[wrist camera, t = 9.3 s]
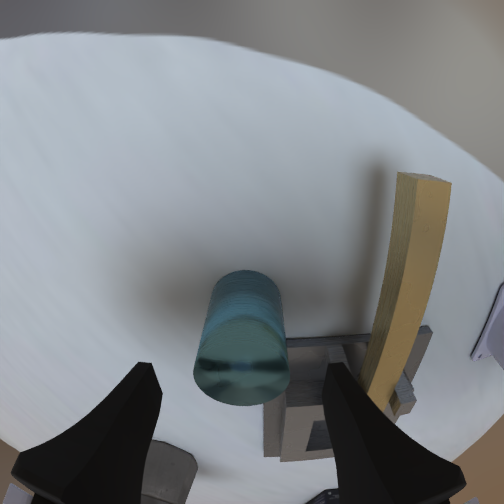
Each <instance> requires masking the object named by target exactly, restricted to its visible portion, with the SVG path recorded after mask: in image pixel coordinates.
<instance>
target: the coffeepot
mask: <svg viewBox="0 0 504 504" xmlns="http://www.w3.org/2000/svg"><path fill="white" fill-rule="evenodd" d="M197 470H198V466H197V463H196V460H195V459H194V457H193V456H191V455H190V454H189V453H187V452H186V451H184V450H182V449H180V448H177V447H175V446H173V445H170V444H167V443H163V442H160V441H156V440H151V443H150V446H149V450H148V453H147V457H146V462H145V468H144V474H143V482H142V492H141V504H185V502H186V499H187V497H188V494H189V491H190V489H191V486H192V483H193V480H194V478H195V475H196V472H197Z"/></svg>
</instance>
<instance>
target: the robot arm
mask: <svg viewBox="0 0 504 504" xmlns="http://www.w3.org/2000/svg"><path fill="white" fill-rule="evenodd" d="M491 355H493V356H494V358H495V359H496V360H497V362H498V363H499V365H500V366H501V367H502V369H503V370H504V285H502V287H501V288H500V291H499V294H498V296H497V299H496V302H495V304H494V307H493V310H492V312H491V315H490V317H489V319H488V322H487V324H486V326H485V329H484V331H483V333H482V335H481V338H480V340H479V342H478V344H477V346H476V348H475V350H474V352H473V354H472V356H471V359H472V361H476V360H479V359H482V358H485V357H488V356H491ZM162 395H163V393H162V390H161V388H160V385H159V382H158V380H157V377H156V374H155V371H154V369H153V366H152V363H145V362H138V363H137V364H136V365H135V366H134V367H133V368H132V369H131V371H130V372H129V373H128V374H127V375H126V376H125V377H124V378H123V379H122V381H121V382H120V383H119V384H118V385H117V386H116V387H115V388H114V389H113V390H112V391H111V392H110V393H109V395H108V396H107V397H106V398H105V399H104V400H103V401H102V402H100V403H99V404H98V405H97V406H96V407H95V408H94V409H93V410H92V411H91V412H90V413H89V414H87V415H86V416H85V417H84V418H83V419H81V420H80V421H79V422H77V423H76V424H75V425H73V426H72V427H70V428H69V429H67V430H66V431H64V432H63V433H61V434H60V435H58V436H56V437H54V438H53V439H51V440H49V441H47V442H45V443H43V444H41V445H38V446H36V447H34V448H31V449H28V450H26V451H23V452H20V454H19V456H18V458H17V460H16V462H15V464H14V466H13V469H12V471H11V474H12V476H13V477H14V478H15V479H17V480H18V481H19V482H20V483H22V484H23V485H25V486H26V487H27V488H29V489H30V490H32V491H33V492H34V493H35V494H34V497H33V496H31V495H29V494H28V493H26V492H25V491H23V490H21V489H20V488H18V487H17V486H15V485H14V484H10V486H9V488H8V491H7V493H6V496H5V498H4V501H3V504H141V492H142V482H143V474H144V468H145V462H146V457H147V453H148V450H149V446H150V443H151V440H152V437H153V433H154V430H155V427H156V423H157V420H158V417H159V413H160V407H161V401H162ZM322 402H323V410H324V416H325V421H326V425H327V429H328V433H329V437H330V441H331V445H332V449H333V453H334V457H335V462H336V469H337V478H338V489H339V503H340V504H450V501H449V498H450V497H452V496H453V495H455V494H456V493H458V492H459V491H460V490H462V489H463V488H464V487H465V486H466V481H465V478H464V475H463V472H462V471H461V468H460V467H459V466H458V465H455V464H453V463H451V462H449V461H447V460H445V459H443V458H441V457H439V456H437V455H436V454H434V453H432V452H430V451H429V450H427V449H426V448H424V447H423V446H422V445H420V444H419V443H417V442H416V441H414V440H413V439H412V438H410V437H409V436H408V435H407V434H405V433H404V432H403V431H402V430H401V429H400V428H398V427H397V426H396V425H395V424H394V423H393V422H392V421H391V420H390V419H389V418H388V417H387V416H386V415H385V414H384V413H383V412H382V411H381V410H380V409H379V408H378V407H377V405H376V404H375V403H374V402H373V401H372V400H371V398H370V397H369V396H368V395H367V393H366V392H365V391H364V390H363V388H362V387H361V386H360V385H359V383H358V382H357V381H356V379H355V378H354V376H353V375H352V374H351V372H350V371H349V369H348V368H347V366H346V365H345V364H344V363H343V362H337V363H328V367H327V371H326V376H325V381H324V385H323V390H322ZM464 504H479V501H478V499H477V497H475V498H473V499H471V500H469V501H468V502H466V503H464Z"/></svg>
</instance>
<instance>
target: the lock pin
mask: <svg viewBox="0 0 504 504" xmlns="http://www.w3.org/2000/svg"><path fill="white" fill-rule="evenodd" d="M451 185H452V183H450V182H448V181H445V180H442V179H440V178H437V177H434V176H431V175H425V174H416V173H406V172H397V184H396V195H395V205H394V214H393V223H392V230H391V238H390V244H389V251H388V257H387V263H386V268H385V274H384V279H383V284H382V289H381V294H380V298H379V303H378V307H377V312H376V316H375V320H374V324H373V328H372V332H371V336H370V340H369V343H368V347H367V350H366V354H365V357H364V361H363V364H362V367H361V370H360V374H359V377H358V380H357V382H358V383H359V385H360V386H361V387H362V388H363V390H364V391H365V392H366V393H367V395H368V396H369V397H370V398H371V400H372V401H373V402H374V403H375V404H376V405H377V407H378V408H379V409H380V410H381V411H382V412H384V410H385V408H386V406H387V404H388V402H389V400H390V398H391V396H392V393H393V391H394V389H395V387H396V385H397V383H398V380H399V378H400V376H401V374H402V371H403V369H404V367H405V364H406V362H407V359H408V357H409V354H410V352H411V349H412V347H413V344H414V341H415V339H416V336H417V333H418V330H419V327H420V324H421V321H422V318H423V315H424V312H425V309H426V306H427V303H428V299H429V296H430V292H431V289H432V285H433V281H434V278H435V274H436V270H437V266H438V261H439V257H440V253H441V248H442V243H443V238H444V233H445V227H446V221H447V215H448V208H449V201H450V193H451Z"/></svg>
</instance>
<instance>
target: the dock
mask: <svg viewBox="0 0 504 504" xmlns="http://www.w3.org/2000/svg"><path fill="white" fill-rule="evenodd" d="M432 334H433V332H432V330H431V329H430V328H429V326H424V327H419V330H418V333H417V336H416V339H415V341H414V344H413V347H412V349H411V352H410V354H409V357H408V359H407V362H406V364H405V367H404V369H403V371H402V374H401V376H400V378H399V380H398V383H397V385H396V387H395V389H394V391H393V393H392V396H391V398H390V400H389V402H388V404H387V406H386V408H385V410H384V412H383V413H384V414H385V415H386V416H387V417H388V418H389V419H390V420H391V421H392V422H393V423H394V424H395V423H396V421H397V419H398V418H399V416H400V415H404V414H408V413H410V411H411V410H412V408H413V406H414V404H415V403H416V401H417V400H416V398H415V396H414V394H413V391H414V388H413V386H412V384H411V382H412V380H413V378H414V376H415V374H416V371H417V369H418V367H419V365H420V363H421V360H422V358H423V356H424V353H425V351H426V349H427V346H428V344H429V341H430V339H431V336H432ZM370 336H371V334H361V335H350V336H339V337H325V338H309V339H288V340H286V344H287V353H288V361H289V370H290V381H289V384H288V386H287V388H286V389H285V390H284V391H283V393H281V394H280V395H279V396H278V397H276V398H275V399H273V400H271V401H268V402H266V403H264V457H280V462H289V461H303V460H313V459H322V458H330V457H334V453H333V449H332V445H331V441H330V437H329V433H328V429H327V425H326V421H325V416H324V410H323V402H322V390H323V385H324V381H325V376H326V371H327V367H328V363H337V362H343V363H344V364H345V365H346V366H347V368H348V369H349V371H350V372H351V374H352V375H353V376H354V378H355V379H356V381H357V380H358V377H359V374H360V370H361V367H362V364H363V361H364V357H365V354H366V350H367V347H368V343H369V340H370Z"/></svg>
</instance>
